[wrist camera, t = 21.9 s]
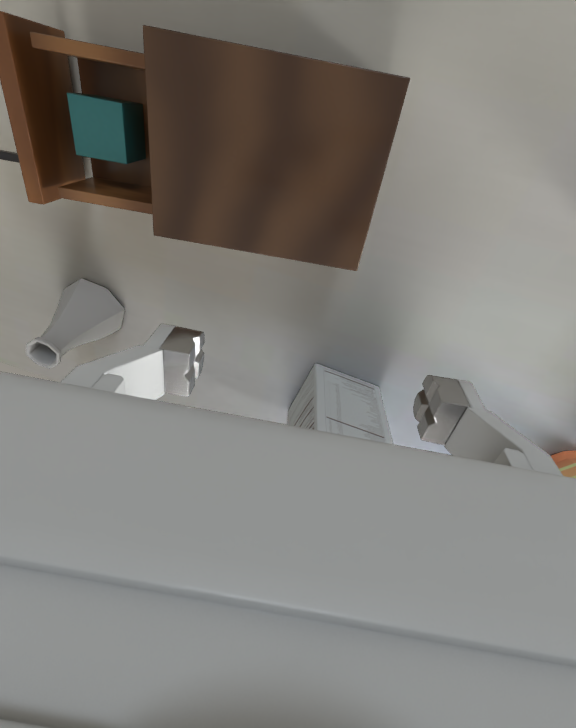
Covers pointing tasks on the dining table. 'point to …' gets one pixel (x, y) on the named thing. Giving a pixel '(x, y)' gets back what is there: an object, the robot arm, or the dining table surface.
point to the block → (107, 128)
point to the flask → (77, 322)
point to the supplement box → (340, 406)
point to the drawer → (67, 114)
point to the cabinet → (265, 147)
